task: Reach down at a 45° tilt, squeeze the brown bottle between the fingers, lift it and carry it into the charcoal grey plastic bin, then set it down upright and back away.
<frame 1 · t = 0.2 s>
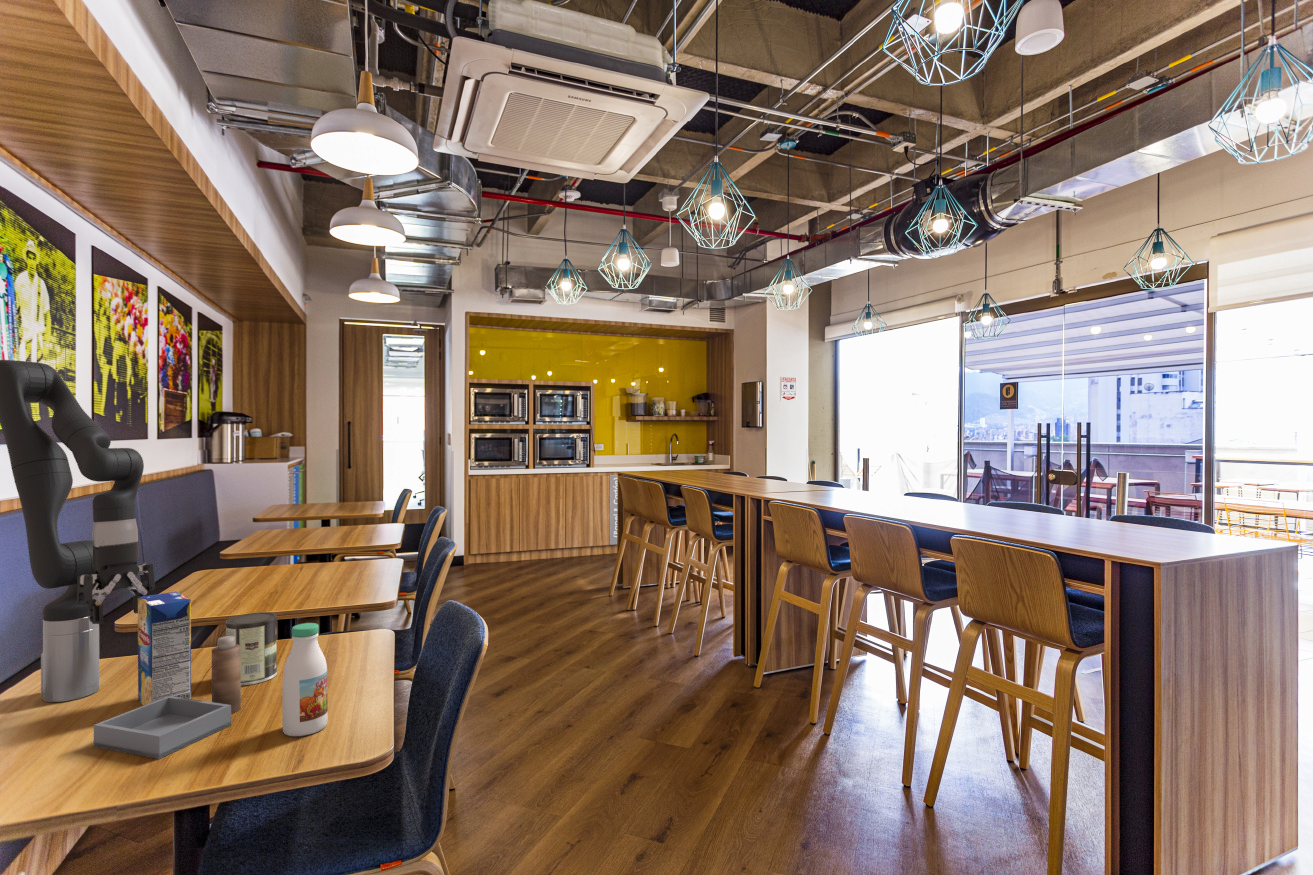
hand: (118, 618, 141), 18 cm above the table, tool pointing down, fingers open, 8 cm apart
coffee can: (251, 678, 155), on the table
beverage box: (164, 702, 141), on the table
grey bin: (164, 735, 125), on the table
brown bottle: (226, 710, 136), on the table
milk bottle: (305, 729, 128), on the table
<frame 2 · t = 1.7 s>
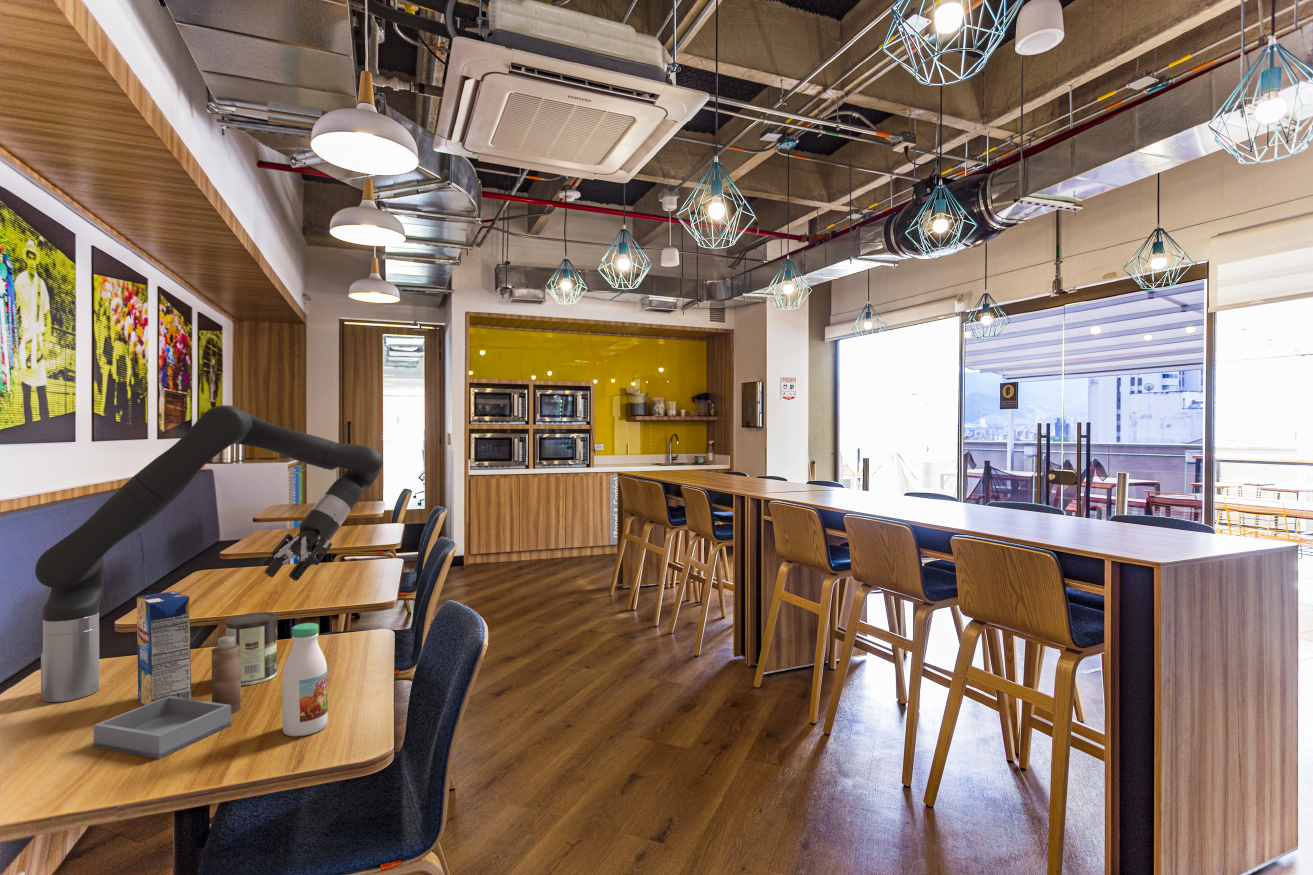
hand: (280, 576, 146), 25 cm above the table, tool tilted 45°, fingers open, 8 cm apart
nothing on the table moved.
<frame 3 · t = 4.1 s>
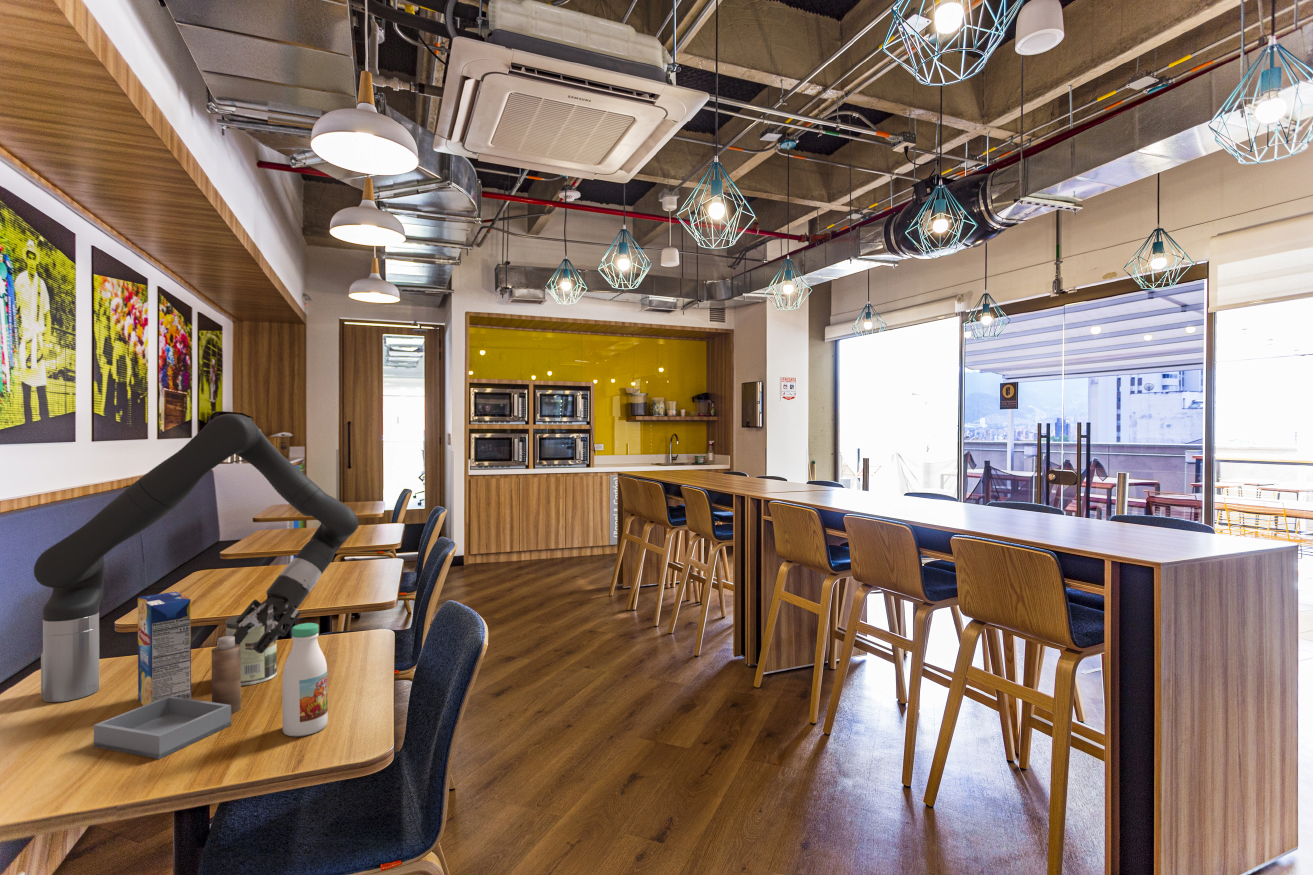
hand: (244, 648, 140), 12 cm above the table, tool tilted 45°, fingers open, 8 cm apart
nothing on the table moved.
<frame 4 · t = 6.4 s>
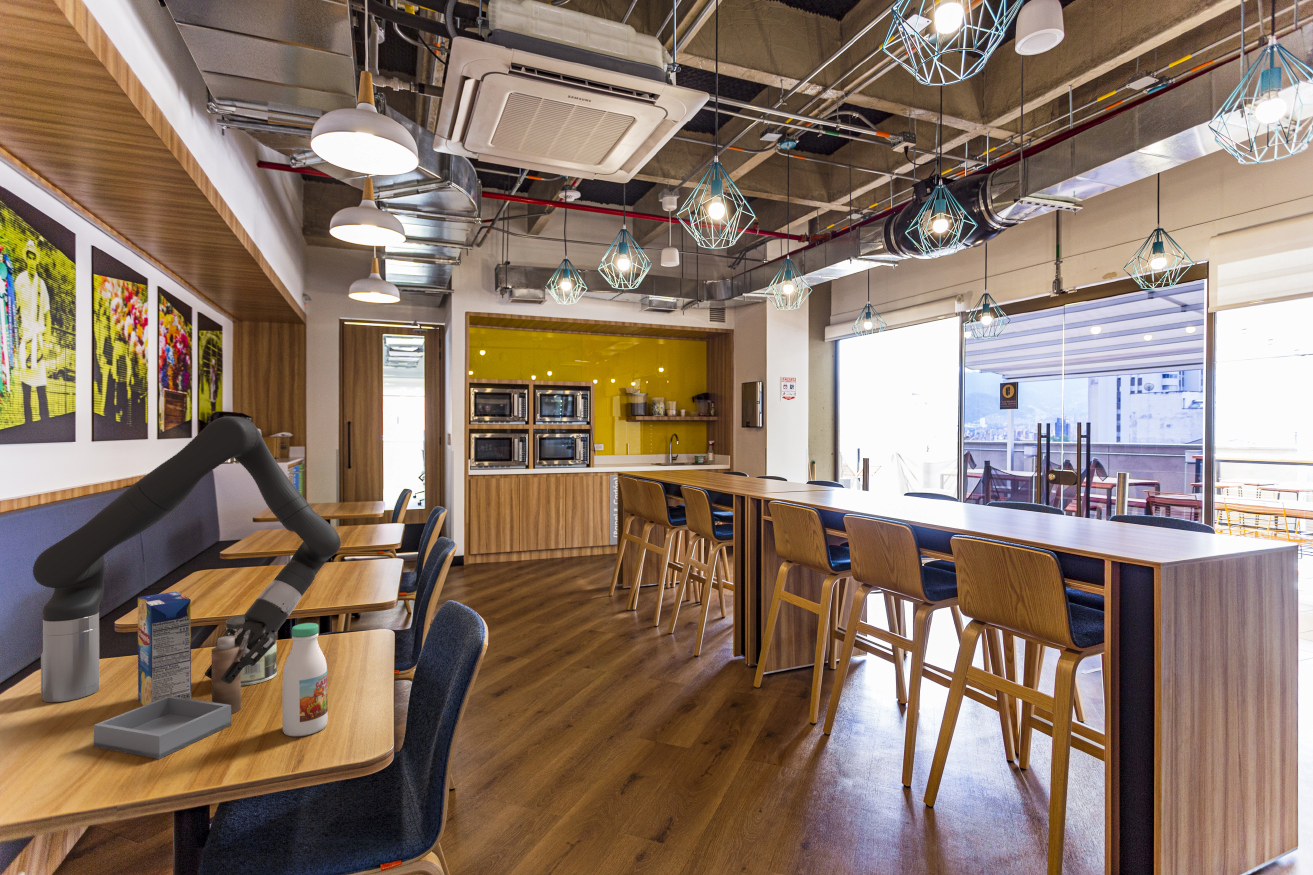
hand: (217, 678, 135), 7 cm above the table, tool tilted 45°, fingers closed on brown bottle, 5 cm apart
brown bottle: (226, 710, 136), on the table, touching gripper
everything else where it was.
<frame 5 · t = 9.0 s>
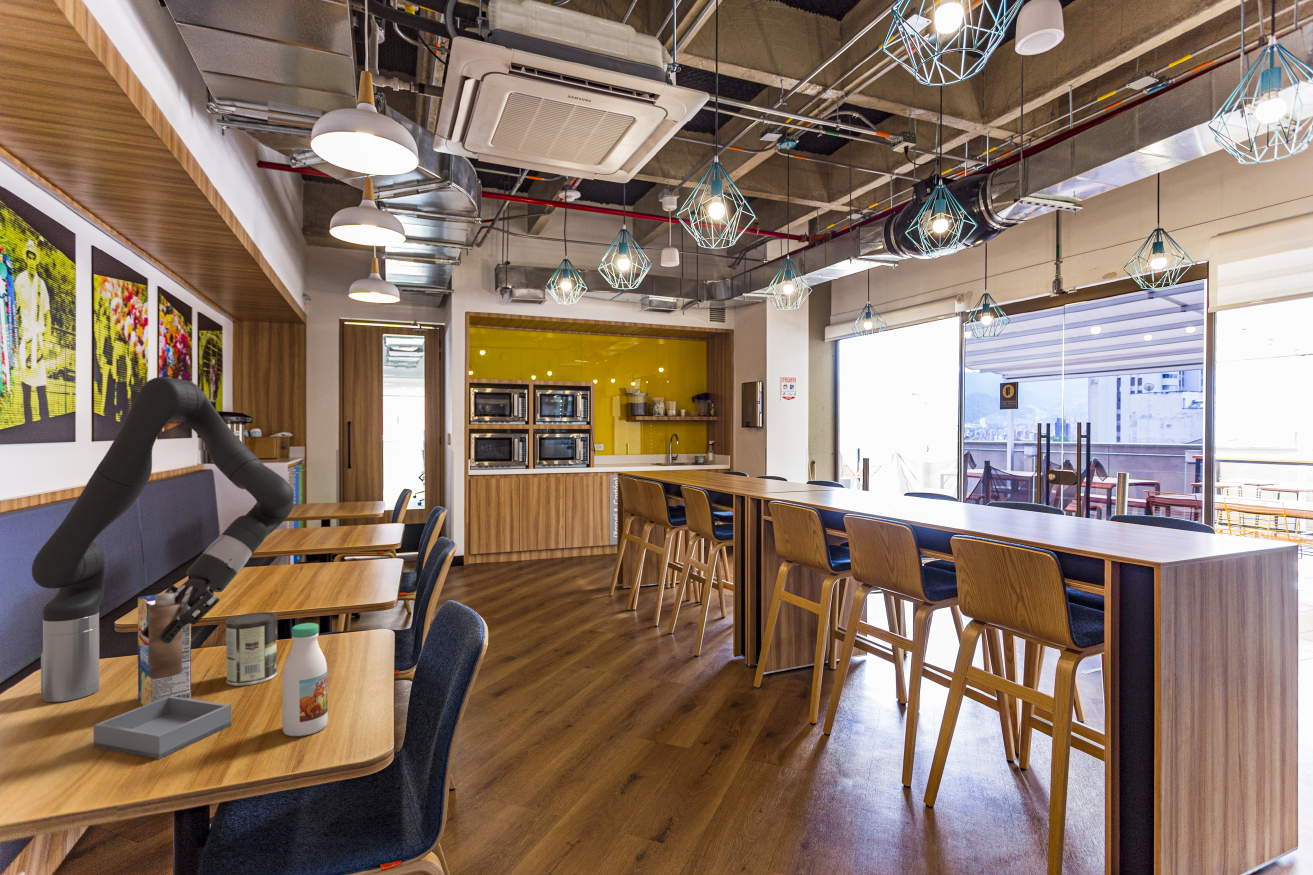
hand: (154, 638, 123), 19 cm above the table, tool tilted 45°, fingers closed on brown bottle, 5 cm apart
brown bottle: (165, 673, 125), point 12 cm above the table, touching gripper
everything else where it was.
when the fingers open (10 cm above the table, at t = 11.5 s): brown bottle drops 1 cm, resting on grey bin.
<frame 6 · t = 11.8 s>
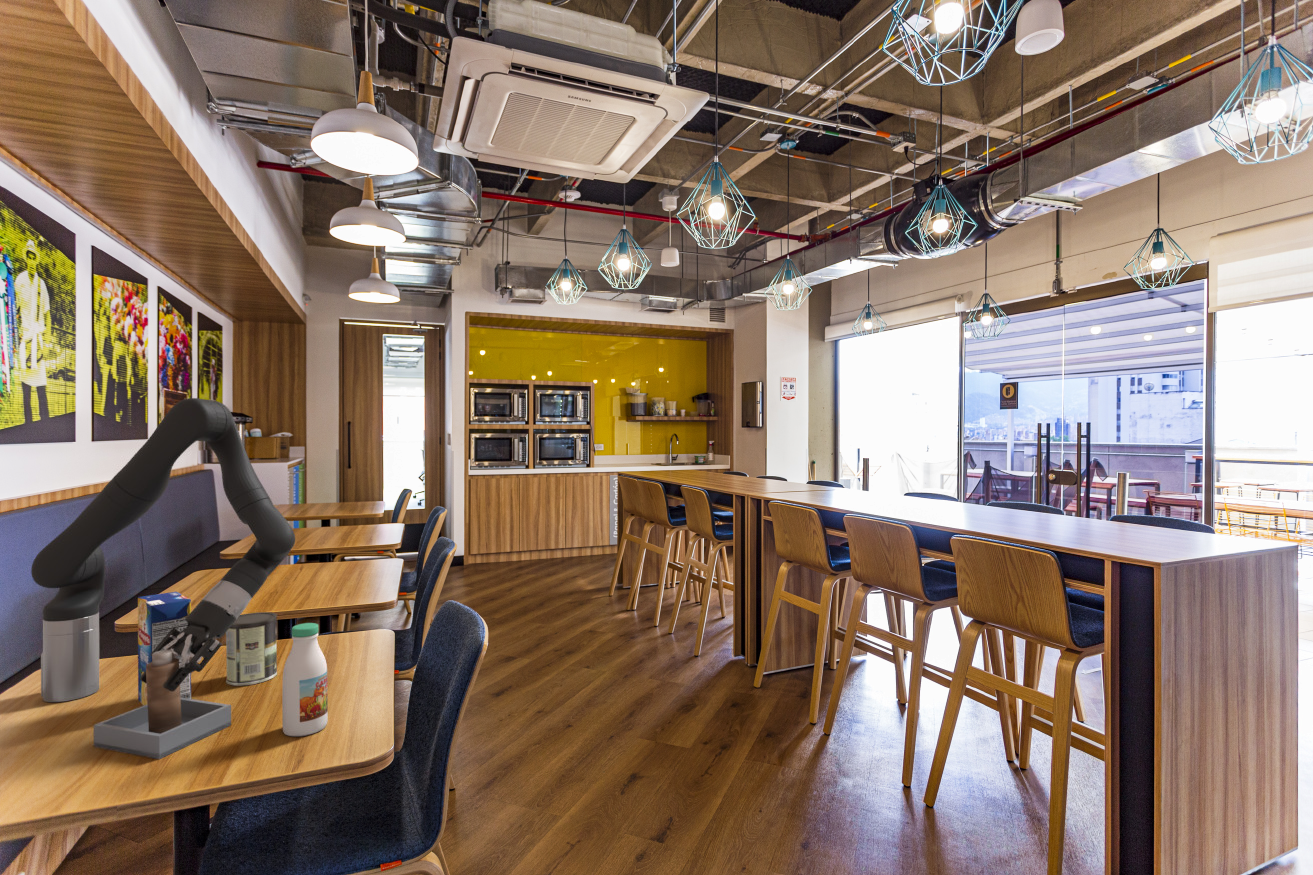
hand: (155, 685, 124), 10 cm above the table, tool tilted 45°, fingers open, 7 cm apart
brown bottle: (165, 730, 125), point 1 cm above the table, touching grey bin
everything else where it was.
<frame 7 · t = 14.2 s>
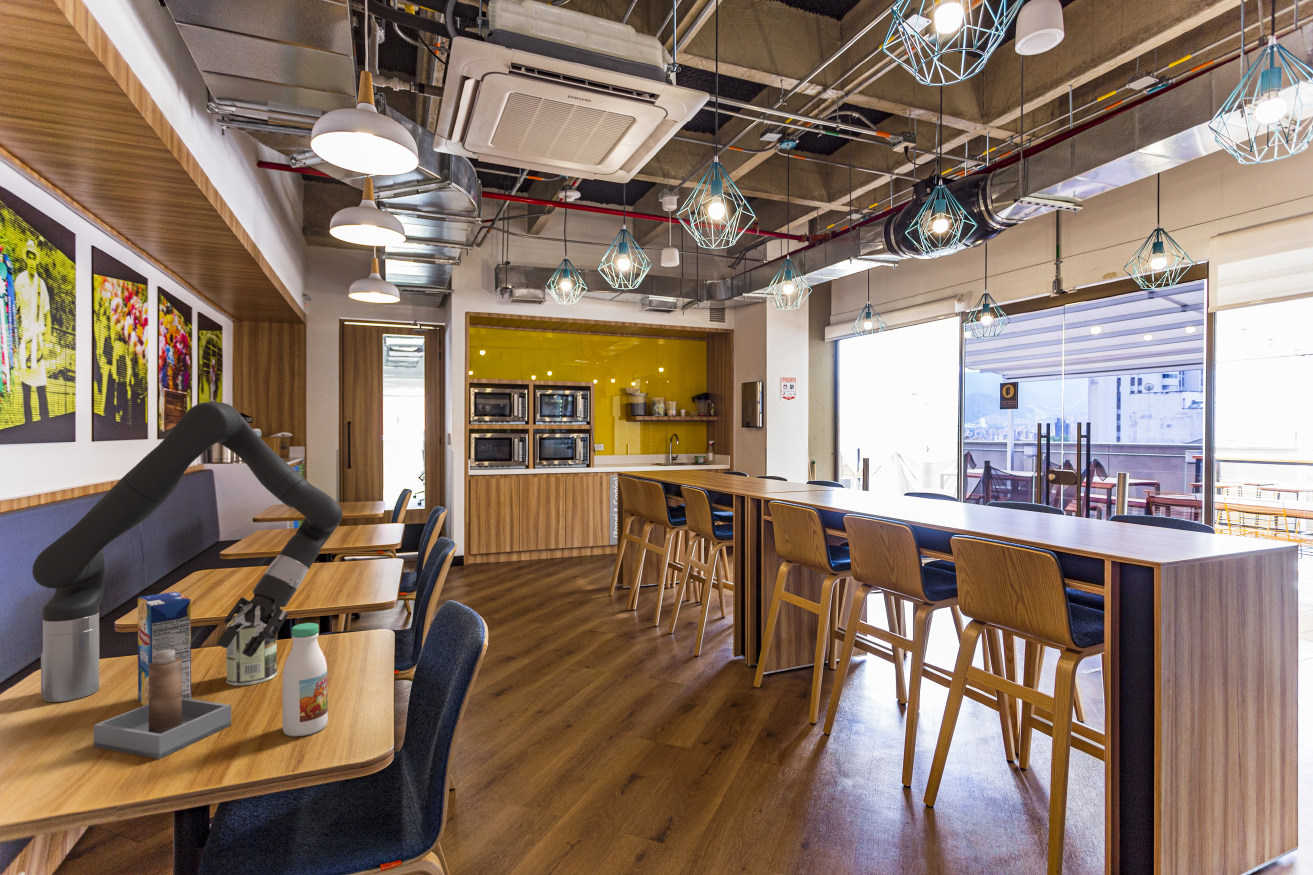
hand: (233, 650, 138), 12 cm above the table, tool tilted 40°, fingers open, 8 cm apart
nothing on the table moved.
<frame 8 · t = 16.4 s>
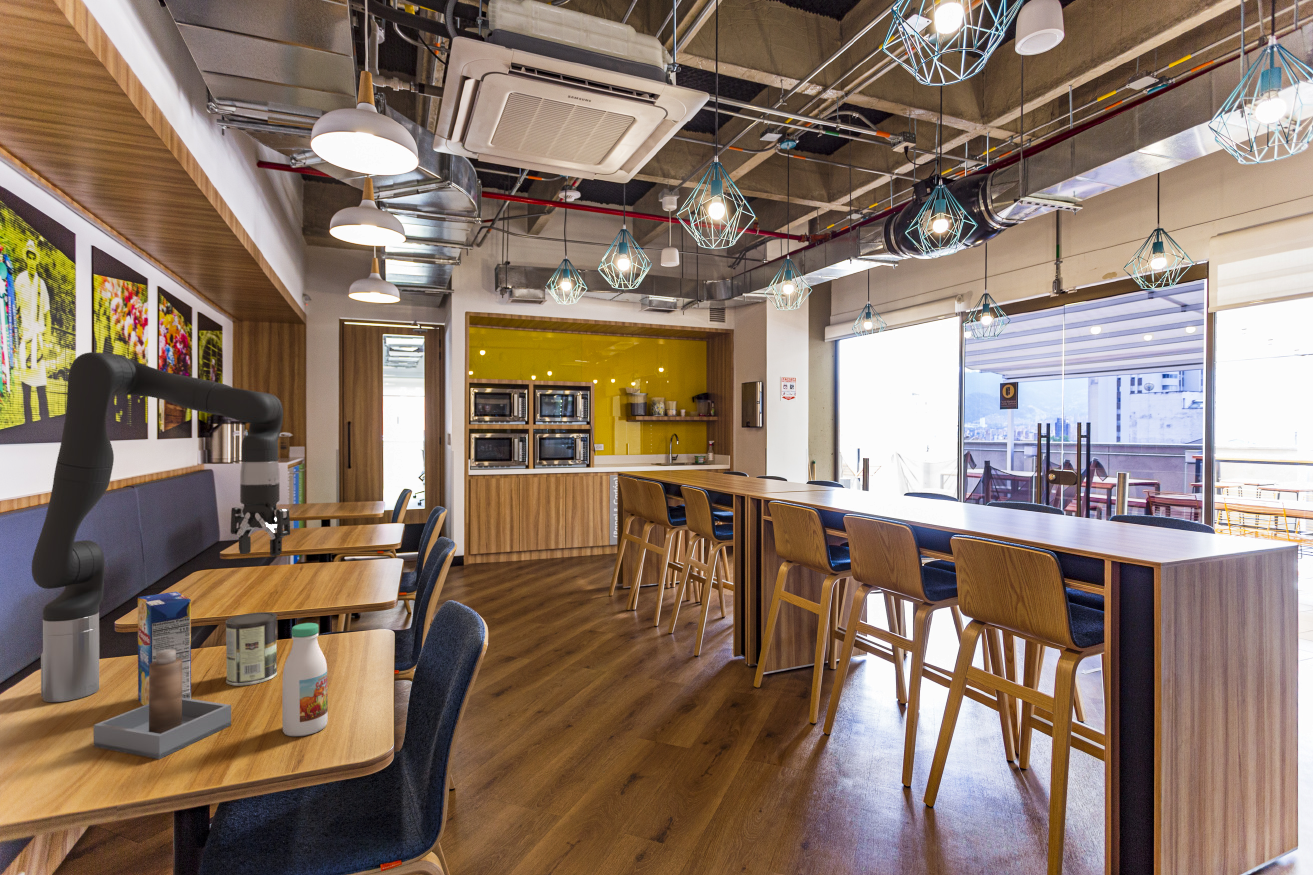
hand: (260, 554, 148), 30 cm above the table, tool pointing down, fingers open, 8 cm apart
nothing on the table moved.
at the end: brown bottle inside the target area on the grey bin (0.1 cm from its centre), point 0.8 cm above the grey bin's base; brown bottle tilted 1°; the gripper is holding nothing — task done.
